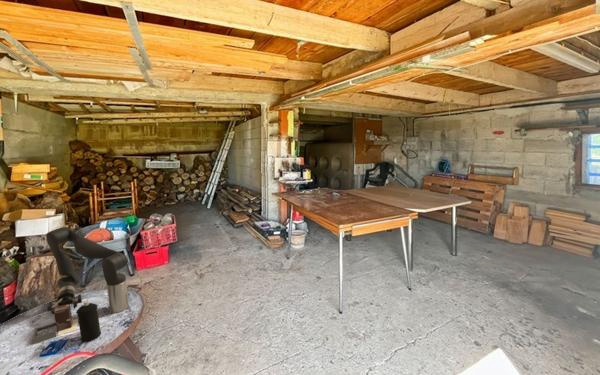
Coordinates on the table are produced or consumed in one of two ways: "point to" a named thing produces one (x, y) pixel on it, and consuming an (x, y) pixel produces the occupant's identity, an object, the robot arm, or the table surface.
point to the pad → (73, 328)
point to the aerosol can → (88, 322)
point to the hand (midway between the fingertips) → (64, 309)
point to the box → (63, 317)
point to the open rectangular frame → (45, 336)
